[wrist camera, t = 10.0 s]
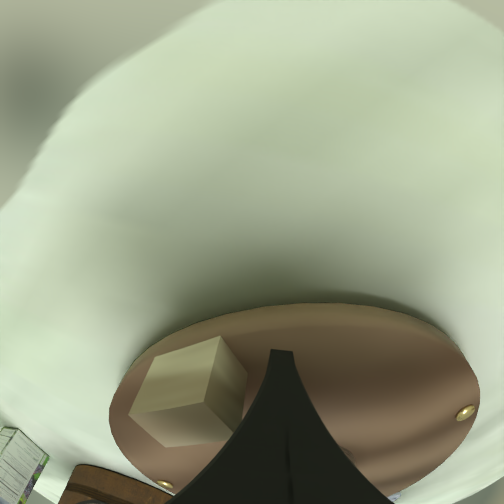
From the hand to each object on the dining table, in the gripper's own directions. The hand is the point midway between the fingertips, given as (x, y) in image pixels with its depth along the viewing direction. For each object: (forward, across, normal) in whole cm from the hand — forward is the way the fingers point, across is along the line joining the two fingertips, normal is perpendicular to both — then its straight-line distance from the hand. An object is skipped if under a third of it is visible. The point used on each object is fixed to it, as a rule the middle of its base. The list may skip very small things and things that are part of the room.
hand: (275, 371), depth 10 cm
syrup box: (+4, +27, +27) cm, 39 cm away
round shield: (+2, -3, +9) cm, 10 cm away
